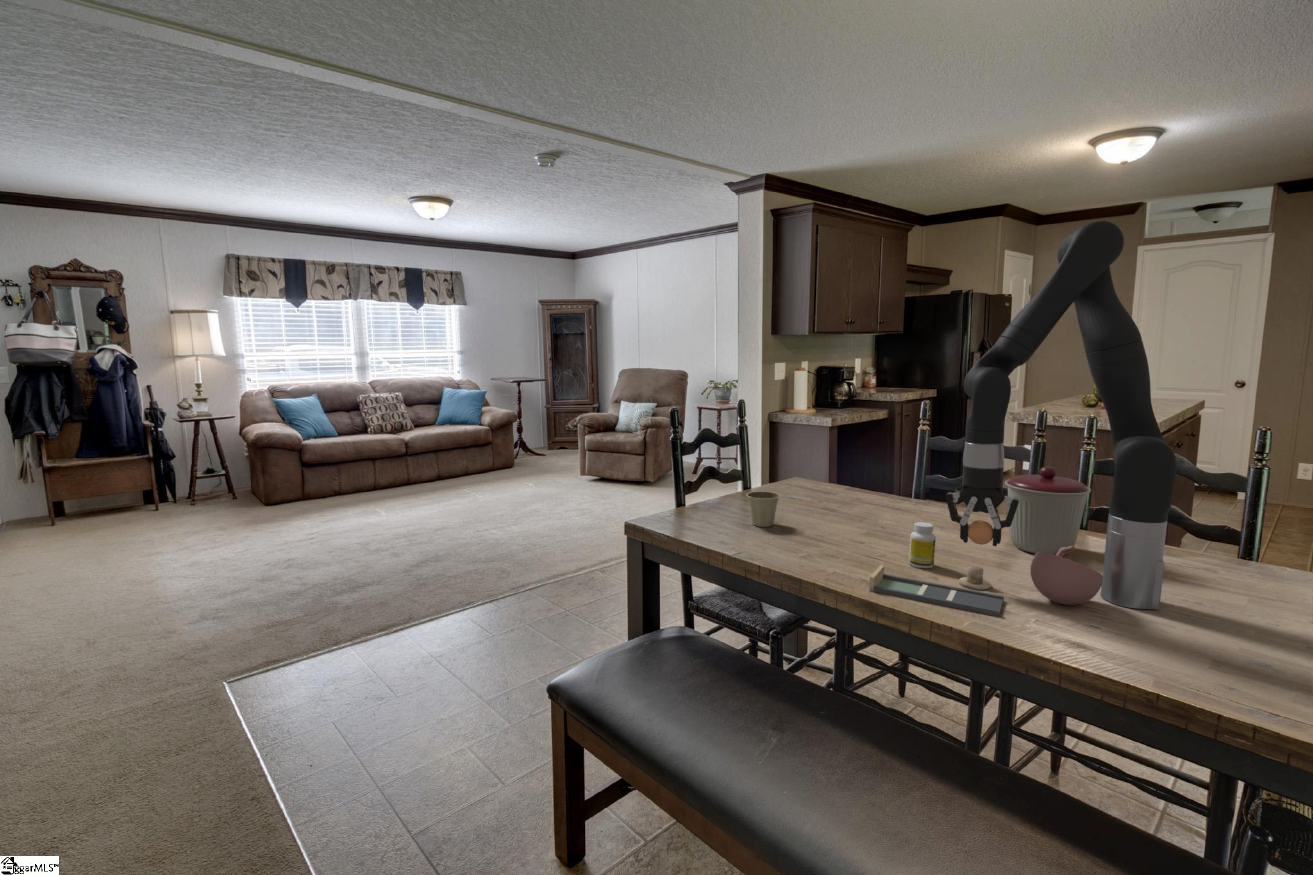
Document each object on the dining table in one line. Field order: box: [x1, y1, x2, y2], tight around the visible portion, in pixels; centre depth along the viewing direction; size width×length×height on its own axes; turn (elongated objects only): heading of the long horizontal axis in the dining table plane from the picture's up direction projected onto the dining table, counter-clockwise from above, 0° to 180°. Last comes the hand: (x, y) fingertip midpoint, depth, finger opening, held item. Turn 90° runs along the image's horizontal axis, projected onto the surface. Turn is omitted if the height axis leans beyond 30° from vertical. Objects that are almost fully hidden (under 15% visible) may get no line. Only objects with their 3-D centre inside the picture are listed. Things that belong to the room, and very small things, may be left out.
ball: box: [967, 519, 994, 545], centre depth 134 cm, size 5×5×5 cm
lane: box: [868, 564, 1005, 618], centre depth 130 cm, size 24×9×3 cm, turn 57°
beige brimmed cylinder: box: [958, 565, 991, 591], centre depth 136 cm, size 6×6×4 cm
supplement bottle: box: [908, 521, 936, 569], centre depth 148 cm, size 5×5×10 cm
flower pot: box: [746, 490, 781, 528], centre depth 182 cm, size 9×9×9 cm
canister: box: [1004, 466, 1092, 556], centre depth 158 cm, size 18×18×21 cm
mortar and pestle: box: [1029, 546, 1103, 606], centre depth 126 cm, size 12×12×12 cm
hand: (979, 543), depth 134 cm, fingers closed on ball, 5 cm apart
